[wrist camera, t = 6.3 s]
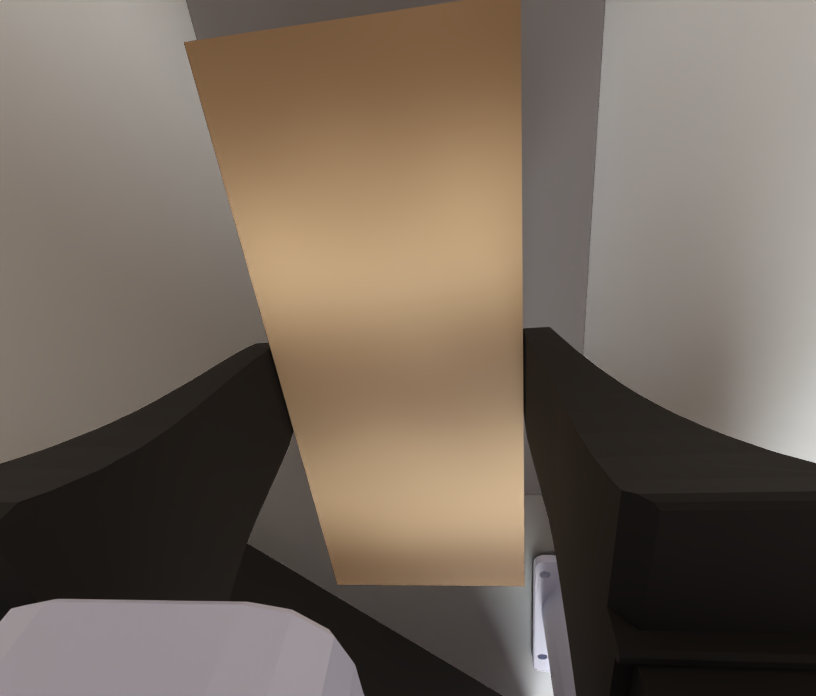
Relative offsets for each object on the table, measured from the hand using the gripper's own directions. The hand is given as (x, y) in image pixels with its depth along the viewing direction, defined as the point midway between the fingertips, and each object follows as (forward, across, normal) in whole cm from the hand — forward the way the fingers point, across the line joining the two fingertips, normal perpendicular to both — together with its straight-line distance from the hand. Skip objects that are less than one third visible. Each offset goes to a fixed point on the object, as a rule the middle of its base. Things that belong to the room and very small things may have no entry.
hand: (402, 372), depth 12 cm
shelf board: (+3, 0, 0) cm, 3 cm away
